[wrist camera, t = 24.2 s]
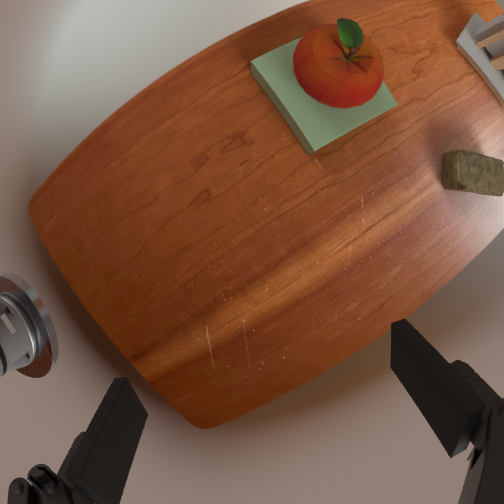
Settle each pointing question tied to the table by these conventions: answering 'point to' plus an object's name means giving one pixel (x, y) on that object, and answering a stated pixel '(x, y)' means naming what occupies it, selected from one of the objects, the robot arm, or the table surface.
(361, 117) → the green block
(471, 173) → the stone block
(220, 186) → the table surface
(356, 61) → the fruit
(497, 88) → the desk lamp
